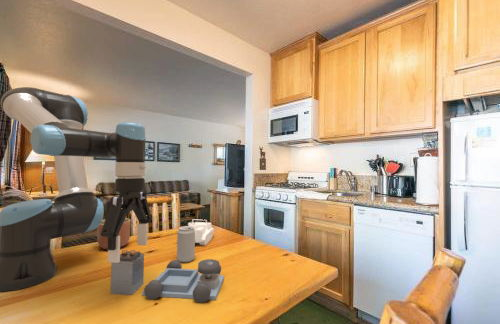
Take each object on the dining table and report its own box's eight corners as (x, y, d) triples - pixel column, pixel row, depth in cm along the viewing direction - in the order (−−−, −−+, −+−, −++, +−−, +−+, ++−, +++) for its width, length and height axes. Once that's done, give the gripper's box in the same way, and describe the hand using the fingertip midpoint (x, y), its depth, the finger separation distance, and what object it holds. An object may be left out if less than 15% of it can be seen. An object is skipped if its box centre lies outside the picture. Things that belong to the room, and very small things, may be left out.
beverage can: (185, 264, 84) (186, 230, 84) (172, 261, 87) (173, 228, 88) (198, 258, 90) (198, 226, 90) (185, 255, 93) (186, 224, 93)
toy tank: (214, 236, 119) (215, 216, 119) (201, 250, 99) (202, 227, 99) (191, 235, 120) (192, 216, 120) (174, 248, 100) (175, 225, 101)
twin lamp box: (110, 293, 65) (111, 254, 65) (124, 283, 71) (124, 246, 71) (131, 295, 64) (132, 254, 64) (143, 284, 70) (144, 247, 70)
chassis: (139, 298, 62) (139, 282, 62) (164, 273, 77) (164, 259, 78) (214, 303, 61) (214, 286, 61) (225, 276, 76) (225, 262, 76)
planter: (91, 253, 94) (92, 225, 94) (102, 243, 106) (103, 218, 106) (125, 250, 97) (126, 224, 97) (133, 241, 109) (133, 217, 109)
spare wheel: (195, 281, 66) (195, 267, 66) (201, 271, 72) (201, 258, 72) (216, 282, 65) (216, 268, 65) (220, 272, 71) (221, 259, 71)
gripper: (114, 179, 55) (113, 272, 55) (162, 176, 80) (162, 239, 79) (84, 179, 56) (82, 270, 55) (141, 176, 81) (140, 239, 80)
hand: (129, 252), depth 67 cm, fingers open, 13 cm apart
